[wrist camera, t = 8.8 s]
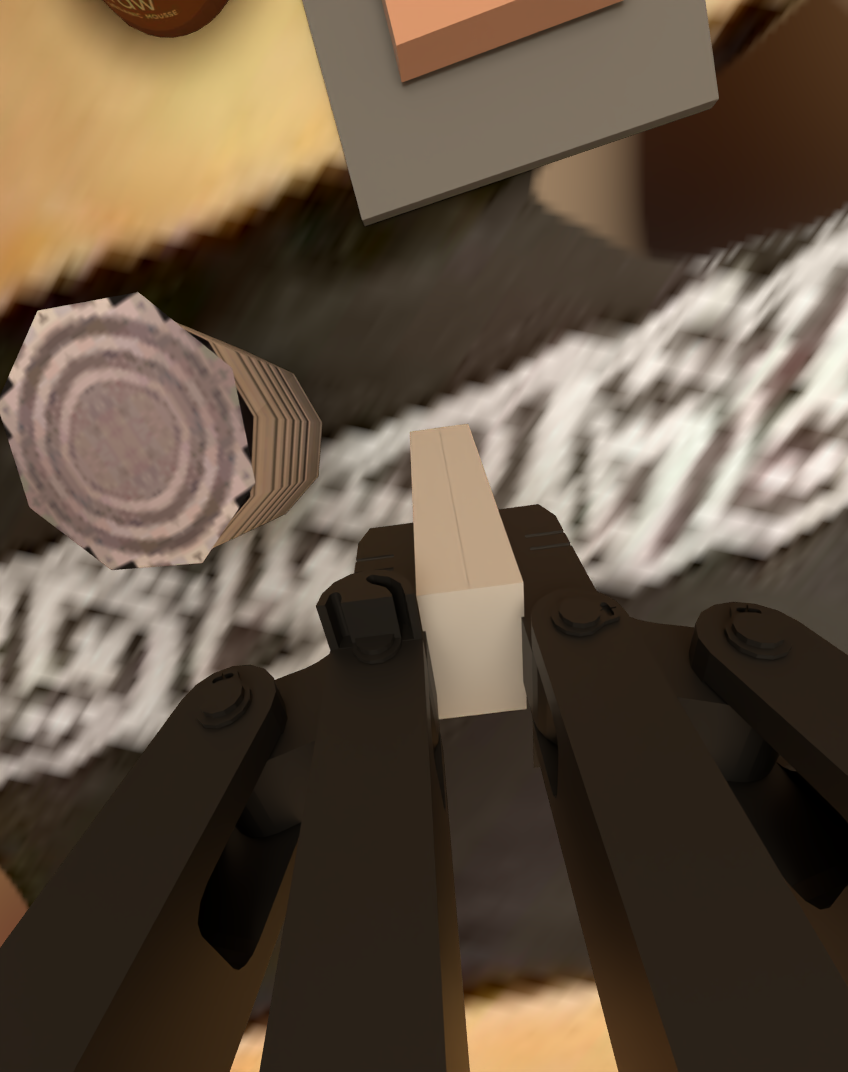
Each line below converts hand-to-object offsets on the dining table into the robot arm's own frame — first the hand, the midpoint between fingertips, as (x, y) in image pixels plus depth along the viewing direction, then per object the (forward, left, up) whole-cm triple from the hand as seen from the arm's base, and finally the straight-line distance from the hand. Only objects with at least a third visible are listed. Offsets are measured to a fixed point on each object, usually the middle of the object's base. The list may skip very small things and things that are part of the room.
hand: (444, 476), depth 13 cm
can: (-14, 0, -19) cm, 23 cm away
